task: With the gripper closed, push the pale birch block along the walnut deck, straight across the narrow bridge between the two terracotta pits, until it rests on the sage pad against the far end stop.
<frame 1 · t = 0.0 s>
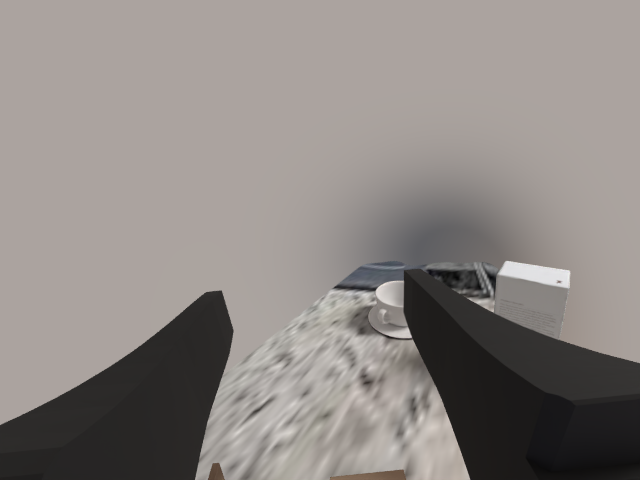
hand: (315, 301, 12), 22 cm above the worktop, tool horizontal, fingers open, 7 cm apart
teacup: (401, 320, 45), on the worktop
skincare box: (520, 365, 35), on the worktop
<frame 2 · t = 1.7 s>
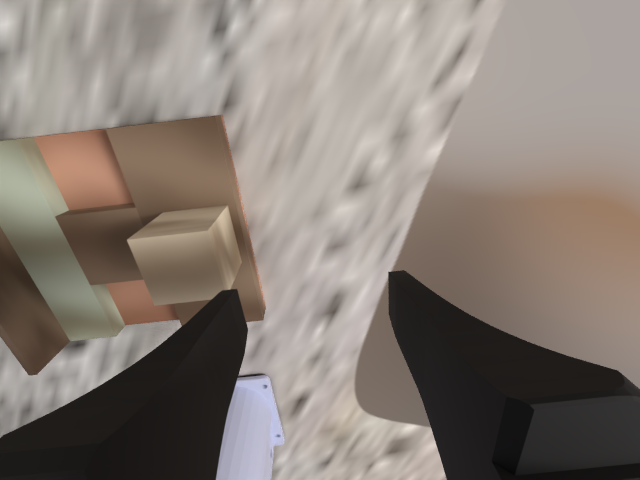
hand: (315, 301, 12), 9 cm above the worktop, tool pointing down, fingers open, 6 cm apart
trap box: (139, 237, 20), on the worktop
birch block: (204, 238, 19), point 1 cm above the worktop, touching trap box
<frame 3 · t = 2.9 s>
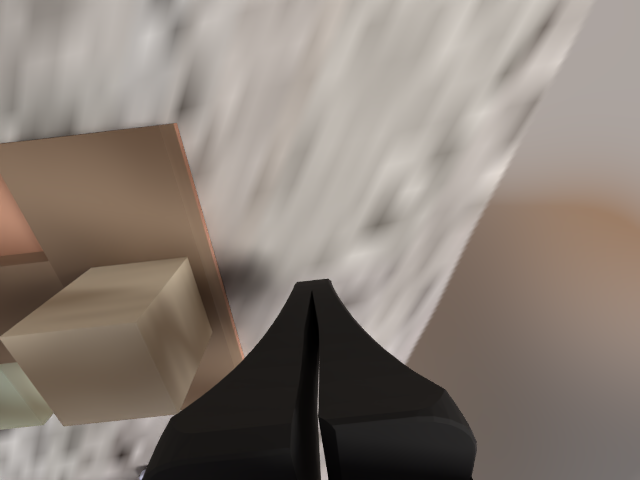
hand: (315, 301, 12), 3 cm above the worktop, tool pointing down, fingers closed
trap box: (68, 294, 14), on the worktop
birch block: (155, 302, 13), point 1 cm above the worktop, touching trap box
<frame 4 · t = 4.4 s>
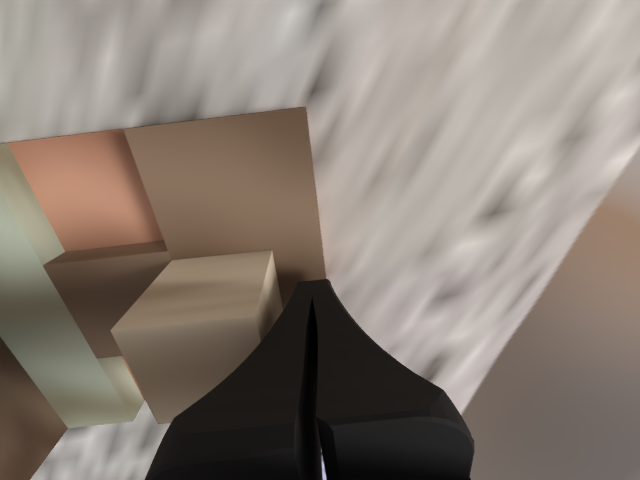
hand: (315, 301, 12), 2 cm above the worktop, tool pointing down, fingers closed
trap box: (167, 287, 14), on the worktop
birch block: (233, 296, 13), point 2 cm above the worktop, touching gripper, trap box
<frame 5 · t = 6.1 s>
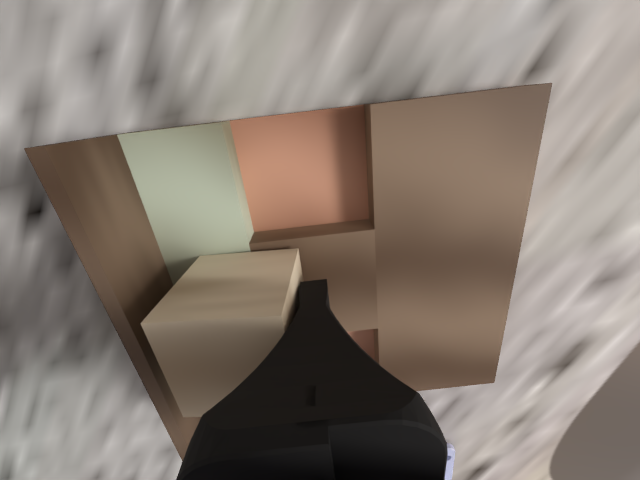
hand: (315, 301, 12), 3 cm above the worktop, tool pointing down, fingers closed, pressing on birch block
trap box: (338, 269, 14), on the worktop
birch block: (258, 293, 13), point 2 cm above the worktop, touching gripper, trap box
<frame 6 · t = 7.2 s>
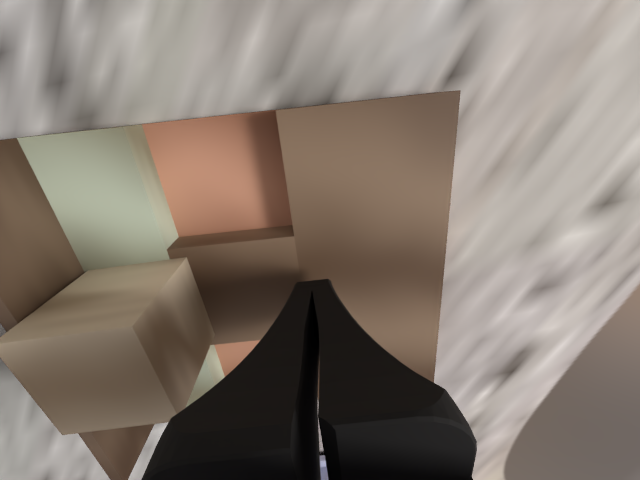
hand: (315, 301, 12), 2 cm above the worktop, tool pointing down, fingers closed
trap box: (270, 274, 14), on the worktop
birch block: (155, 304, 13), point 1 cm above the worktop, touching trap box
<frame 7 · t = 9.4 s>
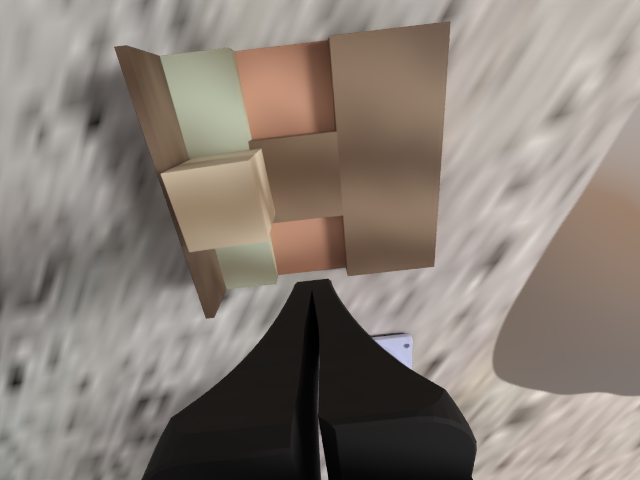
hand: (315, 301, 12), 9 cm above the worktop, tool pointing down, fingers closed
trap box: (314, 173, 19), on the worktop
birch block: (235, 187, 18), point 1 cm above the worktop, touching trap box
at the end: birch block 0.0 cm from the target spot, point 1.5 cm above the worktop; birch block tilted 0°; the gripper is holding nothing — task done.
